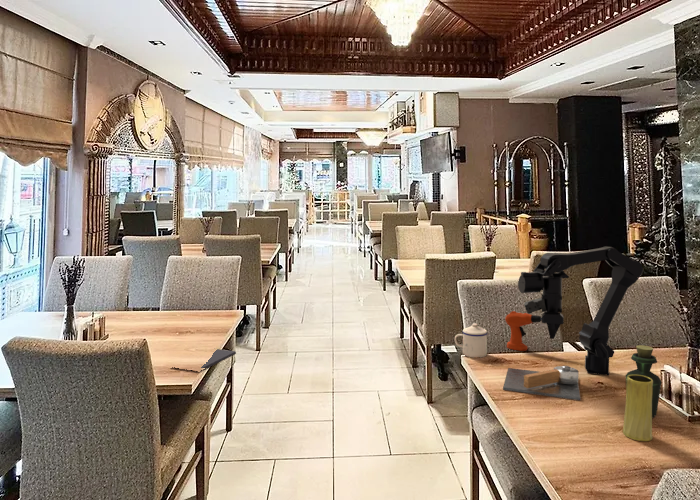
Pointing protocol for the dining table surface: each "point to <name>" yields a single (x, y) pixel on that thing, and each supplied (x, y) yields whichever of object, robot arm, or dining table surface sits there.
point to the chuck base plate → (516, 383)
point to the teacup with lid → (473, 341)
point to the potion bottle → (647, 372)
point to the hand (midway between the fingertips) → (551, 338)
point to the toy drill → (519, 328)
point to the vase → (638, 408)
